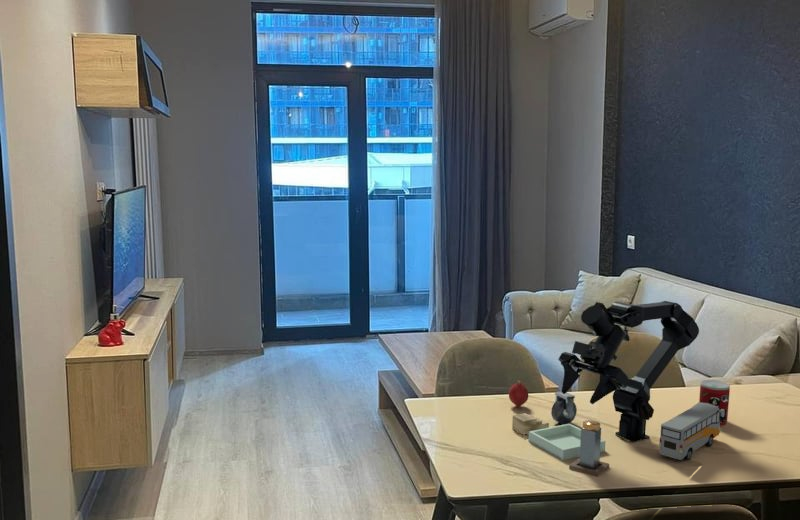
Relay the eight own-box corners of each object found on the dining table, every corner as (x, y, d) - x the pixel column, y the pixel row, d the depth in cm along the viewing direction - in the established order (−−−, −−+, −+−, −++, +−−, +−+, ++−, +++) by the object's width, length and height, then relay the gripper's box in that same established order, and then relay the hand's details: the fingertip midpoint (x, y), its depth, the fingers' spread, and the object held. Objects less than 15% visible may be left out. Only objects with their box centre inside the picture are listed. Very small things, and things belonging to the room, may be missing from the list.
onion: (508, 402, 220) (509, 377, 219) (527, 404, 219) (528, 378, 218) (508, 409, 214) (509, 383, 213) (528, 410, 213) (529, 384, 212)
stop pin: (584, 462, 175) (587, 419, 174) (600, 467, 173) (602, 422, 171) (577, 468, 172) (579, 423, 171) (593, 472, 170) (596, 427, 168)
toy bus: (722, 440, 192) (725, 404, 191) (681, 468, 174) (684, 428, 173) (697, 433, 197) (699, 398, 196) (655, 459, 179) (657, 420, 177)
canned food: (698, 423, 204) (700, 385, 203) (697, 414, 212) (700, 378, 210) (727, 427, 201) (730, 389, 200) (726, 418, 209) (729, 381, 207)
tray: (568, 434, 195) (569, 423, 194) (604, 452, 183) (605, 440, 182) (528, 442, 189) (528, 431, 188) (562, 461, 177) (563, 450, 176)
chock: (537, 425, 202) (537, 410, 201) (548, 431, 198) (549, 416, 197) (512, 430, 198) (512, 415, 198) (523, 436, 194) (523, 421, 193)
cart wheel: (567, 418, 207) (568, 389, 206) (579, 424, 202) (580, 394, 201) (547, 422, 204) (549, 393, 203) (559, 428, 199) (560, 398, 198)
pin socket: (581, 460, 177) (581, 456, 177) (609, 468, 173) (609, 463, 173) (569, 470, 172) (569, 465, 172) (597, 478, 168) (597, 473, 167)
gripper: (562, 321, 187) (532, 372, 183) (620, 336, 172) (589, 392, 168) (583, 344, 193) (555, 394, 189) (642, 360, 177) (612, 415, 173)
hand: (576, 398), depth 180 cm, fingers open, 9 cm apart
